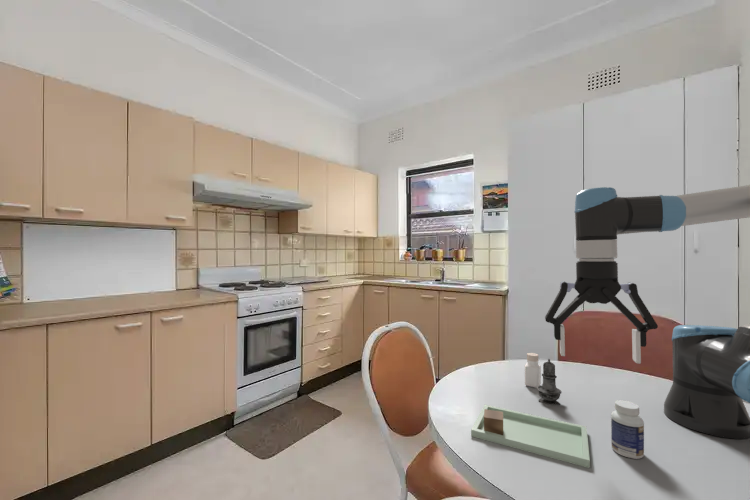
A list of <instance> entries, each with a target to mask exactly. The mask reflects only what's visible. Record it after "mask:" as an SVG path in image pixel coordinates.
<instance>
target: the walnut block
mask: <svg viewBox="0 0 750 500" xmlns="http://www.w3.org/2000/svg"><path fill="white" fill-rule="evenodd" d="M484 431H488V432H492V433H495V434H499V435H503V412H500V411H494V410H487V409H484Z"/></svg>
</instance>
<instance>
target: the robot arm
mask: <svg viewBox="0 0 750 500" xmlns="http://www.w3.org/2000/svg"><path fill="white" fill-rule="evenodd" d="M574 204H575V205H574V216H575V217H574V219H575V221H574V222H575V258H576V259H579V260H578V261H576V262H575V263H576V265H575V267H576V269H575V270H576V271H575V273H576V275H575V276H576V280H575V282H574V283H573V282H566V281H564V280H562V281H561V282H560V284H559V285H560V286H559V291H558V293H557V295H556V296H555V298H554V301H553V303H552V304H551V306H550V308H549V309H548V311H547V312H546V314H545V316H544V320H545V322H546V323H548V324H549V323H550V324H552V325H553V333H554V334H553V337H554V339H555V340H557V341H559V354H560V356H561V357H566V345H565V342H566V340H565V338H566V337H565V334H566V331H565V326H564V324H563V323H564V322H565V321H566V320H567V319H568V318H569V317H570V316H571V315H572V314H573V313H574V312H575V311H576V310H577V309H578V308H580V306H581V305H582V304H583V303H589V304H596V303H597V304H598V303H599V304H603V305H604V304H605V305H607V304H609V303H611V304H612V305H613V306H614V307H616V309H618V310H619V312H620V313H621V314H622V315H624V316H625V318H627V320H629V322H631V324H633V325H634V326H635V328H631V345H632V346H631V347H632V348H631V349H632V350H631V351H632V355H631V356H632V361H633V362H634V363H636V364H641V363H642V354H641V353H642V352H641V351H642V349H641V348H642V347H643V348H646V346H647V332H648V331H651V330H657V329H658V328H659V325H658V324H657V322H656V320H655V319H654V317H653V315H652V314H651V313H650V311H649V309H648V307H647V306H646V304H645V303H644V301H643V300H642V298H641V296H640V295H639V291H638V285H637V284H636V283H634V282H631V281H630V282H627V283H619V275H618V273H619V271H618V270H619V268H618V264H619V263H618V262H617V261H615V259H617V258H618V235H624V234H625V235H626V234H627V235H628V234H637V233H638V234H639V233H649V232H650V233H652V232H653V233H654V232H656V233H657V232H658V233H662V232H672V231H676V230H678V229H680V228H681V227H685V226H692V225H700V224H707V223H708V224H709V223H717V222H724V221H731V220H740V219H747V218H748V219H749V218H750V184H748V185H747V184H746V185H740V186H739V185H738V186H733V187H727V188H726V187H725V188H719V189H714V190H706V191H698V192H691V193H685V194H677V195H663V194H659V195H649V196H646V195H645V196H644V195H643V196H631V197H630V196H628V197H627V196H626V197H624V196H623V197H622V196H618V194H617V190H616V188H614V187H607V186H606V187H605V186H603V187H591V188H586V189H582V190H580V191H578V192H577V193H576V195H575V201H574ZM572 289H574V290H575V291H576V293H578V295H576V296H575V297H574V299H572V301H571V302H570V303H569V304H568V305H567V306H566V307H565V308H564V309H563V310H562V311H561V312H560V313H559V314H558V315H557V316H556V317H555V315H556V313H557V312H558V311H559V308H560V306H561V305H562V303H563V301H564V300H565V297H566V296H567V293H570V292H571V291H572ZM621 290H622V291H623V292H624V293H625V294H628V296H629V298H630V300H631V302H632V303H633V305H634V306H635V308H636V309H637V311H638V314H640V316H641V318H642V320H643V321H644V322H642V321H641V320H640V319H639V318H637V316H636V315H635V314H634V313H633V312H632V311H631V310H629V308H628V307H626V305H624V304H623V302H622V301H621V300H620V299H619V298H618V297H617V295H618V294H619V292H620V291H621ZM671 342H672V345H671V346H672V384H671V387H670V389H669V392H668V393H667V396H666V398H665V399H664V403H663V413H664V414H665V416H666V417H667V418H668V419H669V420H671V421H673V422H675V423H677V424H679V425H681V426H682V427H685V428H687V429H690V430H692V431H696V432H699V433H702V434H705V435H711V436H715V437H719V438H720V437H721V438H726V439H734V440H735V439H736V440H737V439H738V440H739V439H741V440H743V439H748V438H749V439H750V415H749V412H748V411H747V408H746V405H745V404H744V402H747V403H748V404H750V323H746V324H740V325H739V326H738V327H737V328H736V327H727V326H717V325H716V326H715V325H699V324H698V325H697V324H679V325H676V326H674V328H673V330H672V336H671Z"/></svg>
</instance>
